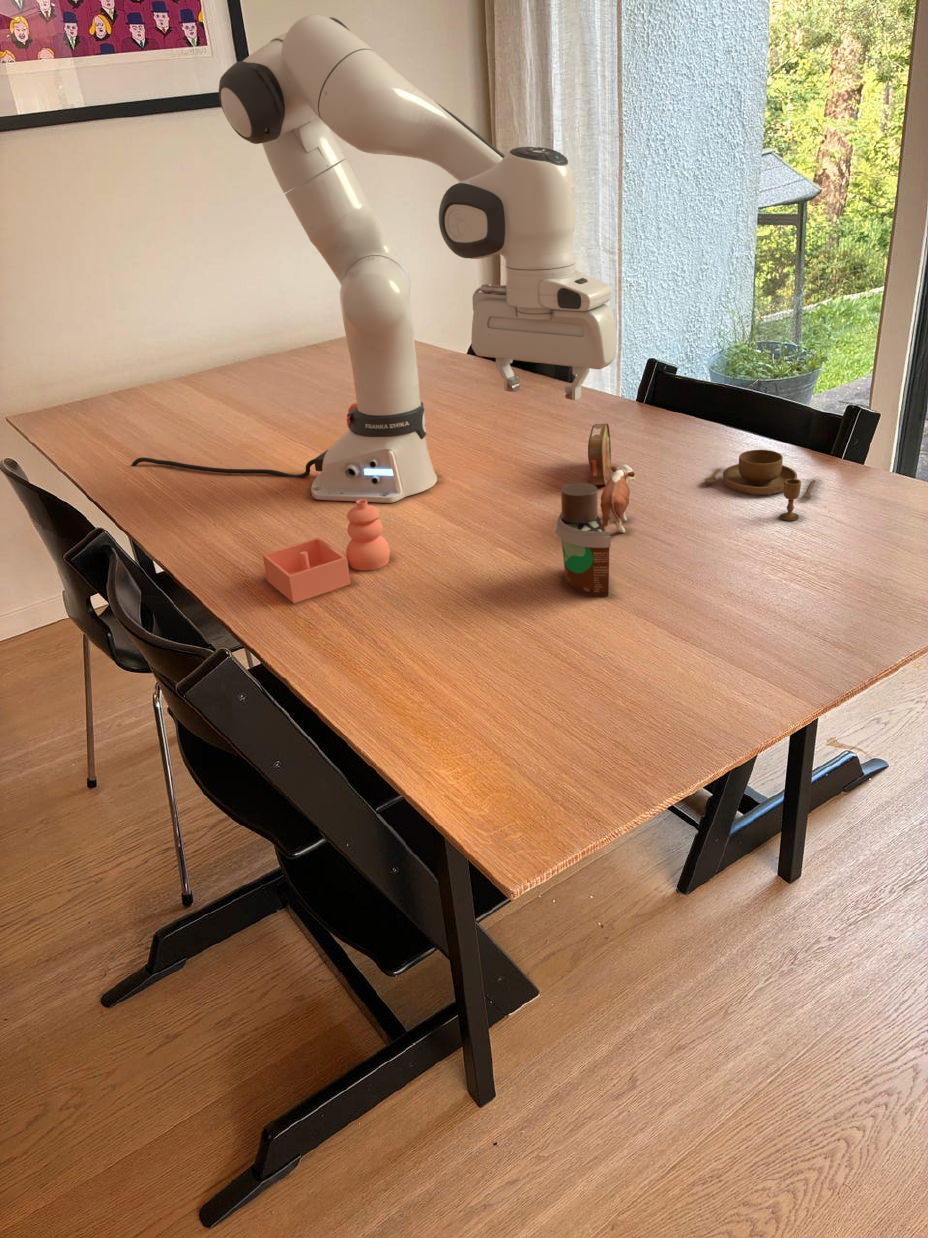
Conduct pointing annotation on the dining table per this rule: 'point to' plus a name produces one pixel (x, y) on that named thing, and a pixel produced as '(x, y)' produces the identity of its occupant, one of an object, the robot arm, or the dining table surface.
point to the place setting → (764, 478)
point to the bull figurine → (616, 497)
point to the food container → (585, 556)
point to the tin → (599, 454)
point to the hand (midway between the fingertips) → (542, 394)
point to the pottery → (328, 558)
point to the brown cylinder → (579, 503)
